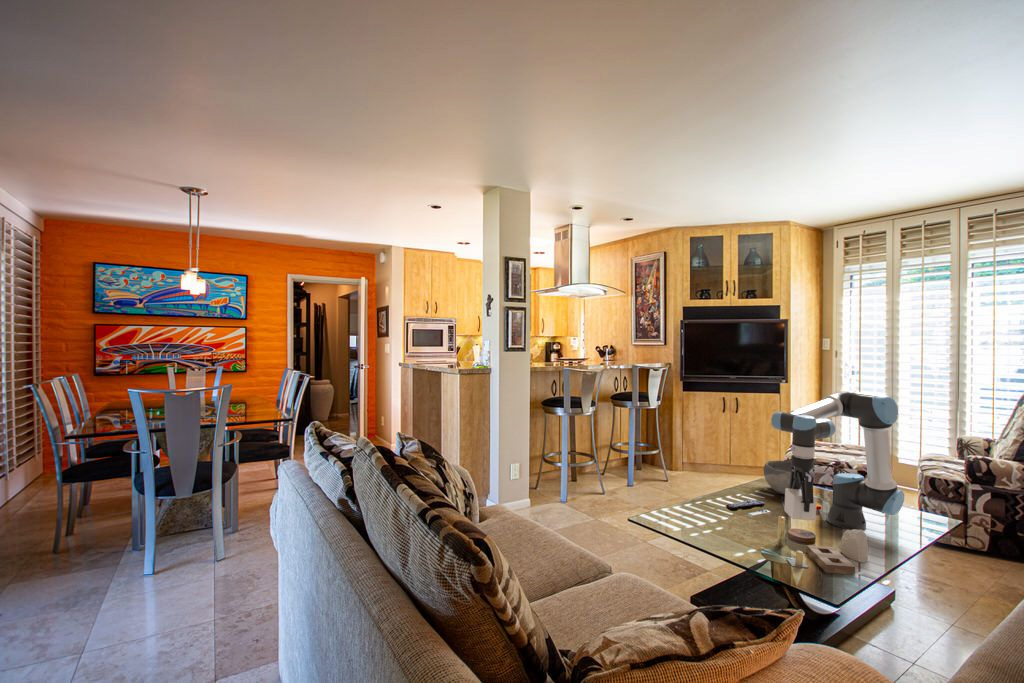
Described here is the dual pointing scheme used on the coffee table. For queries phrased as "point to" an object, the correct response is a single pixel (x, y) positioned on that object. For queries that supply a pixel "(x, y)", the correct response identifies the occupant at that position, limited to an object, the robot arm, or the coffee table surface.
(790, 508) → the cube
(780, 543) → the pin
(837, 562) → the socket board
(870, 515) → the coffee table surface
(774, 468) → the bowl
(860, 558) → the stone
